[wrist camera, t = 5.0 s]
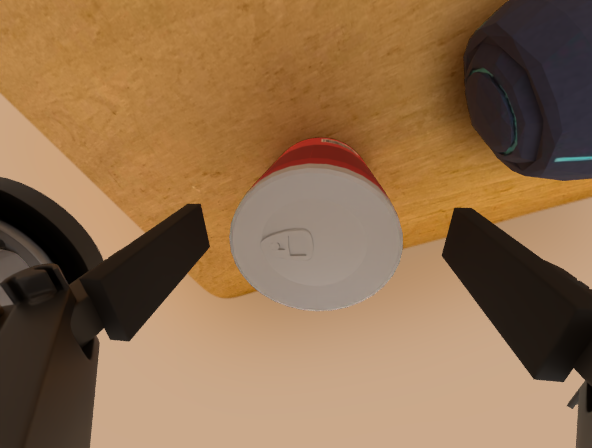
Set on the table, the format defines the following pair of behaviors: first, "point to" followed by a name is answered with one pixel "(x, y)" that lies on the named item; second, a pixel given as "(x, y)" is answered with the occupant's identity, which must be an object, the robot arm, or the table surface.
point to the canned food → (317, 229)
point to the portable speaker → (534, 87)
